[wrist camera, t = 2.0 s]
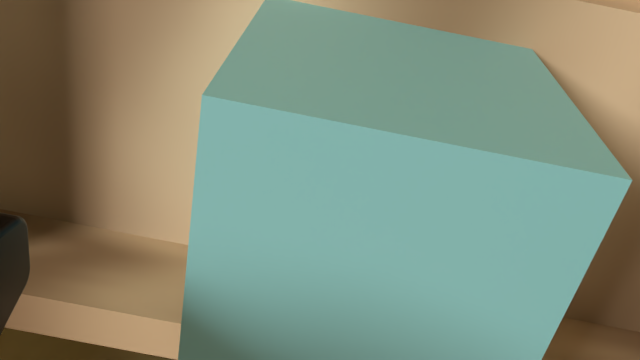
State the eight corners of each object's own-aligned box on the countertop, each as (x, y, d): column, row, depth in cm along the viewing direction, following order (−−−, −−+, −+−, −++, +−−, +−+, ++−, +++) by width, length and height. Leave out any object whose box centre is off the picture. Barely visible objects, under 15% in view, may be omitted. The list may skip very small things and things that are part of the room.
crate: (3, 192, 16) (-114, 305, 12) (-48, -365, 11) (-295, -485, 7) (656, 318, 17) (744, 466, 13) (944, -152, 11) (1261, -147, 7)
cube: (237, 218, 14) (174, 395, 9) (267, -5, 11) (202, 94, 7) (454, 260, 14) (492, 455, 9) (531, 49, 11) (632, 180, 7)
